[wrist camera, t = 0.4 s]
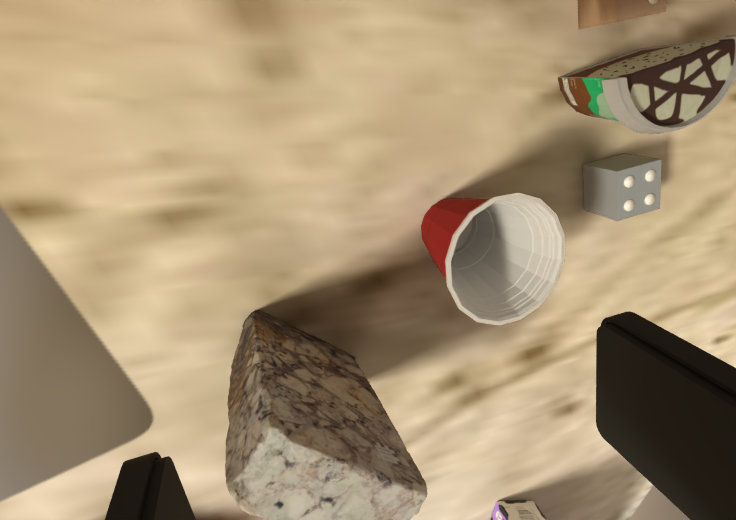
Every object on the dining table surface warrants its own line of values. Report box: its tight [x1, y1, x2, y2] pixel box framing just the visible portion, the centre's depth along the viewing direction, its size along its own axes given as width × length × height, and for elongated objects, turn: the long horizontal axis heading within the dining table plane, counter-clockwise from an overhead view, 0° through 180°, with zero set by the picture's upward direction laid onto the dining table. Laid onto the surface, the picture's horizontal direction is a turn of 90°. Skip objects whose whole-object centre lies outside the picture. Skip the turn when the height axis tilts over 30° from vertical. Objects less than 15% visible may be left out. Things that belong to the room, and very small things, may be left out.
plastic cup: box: [421, 193, 565, 326], centre depth 43 cm, size 11×11×12 cm
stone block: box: [225, 310, 427, 520], centre depth 40 cm, size 13×7×20 cm, turn 59°
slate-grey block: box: [583, 154, 662, 221], centre depth 49 cm, size 5×5×5 cm
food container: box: [558, 35, 736, 134], centre depth 44 cm, size 12×6×10 cm, turn 107°
